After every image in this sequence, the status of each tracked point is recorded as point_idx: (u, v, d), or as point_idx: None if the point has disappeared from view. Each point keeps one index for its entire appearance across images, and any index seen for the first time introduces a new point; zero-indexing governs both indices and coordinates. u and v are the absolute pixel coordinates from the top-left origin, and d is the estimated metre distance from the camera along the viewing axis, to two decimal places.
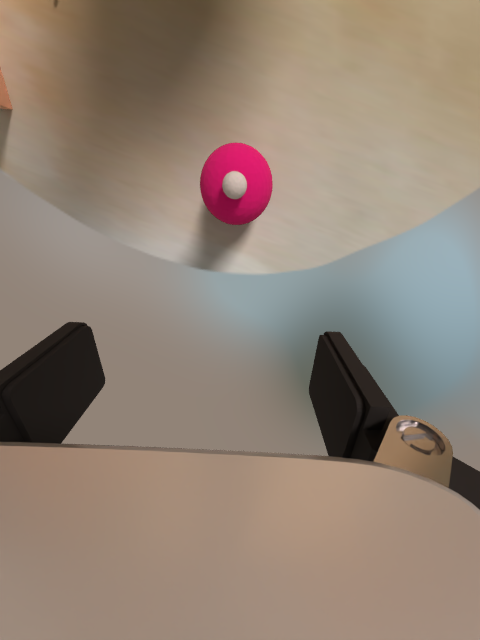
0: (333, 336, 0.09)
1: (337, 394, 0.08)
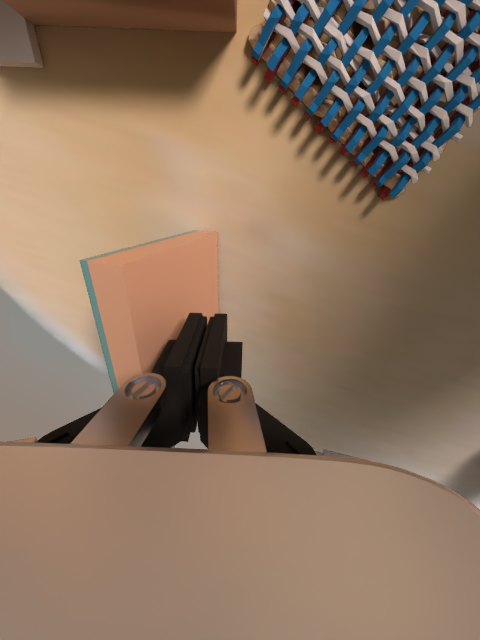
0: (217, 317, 0.10)
1: None
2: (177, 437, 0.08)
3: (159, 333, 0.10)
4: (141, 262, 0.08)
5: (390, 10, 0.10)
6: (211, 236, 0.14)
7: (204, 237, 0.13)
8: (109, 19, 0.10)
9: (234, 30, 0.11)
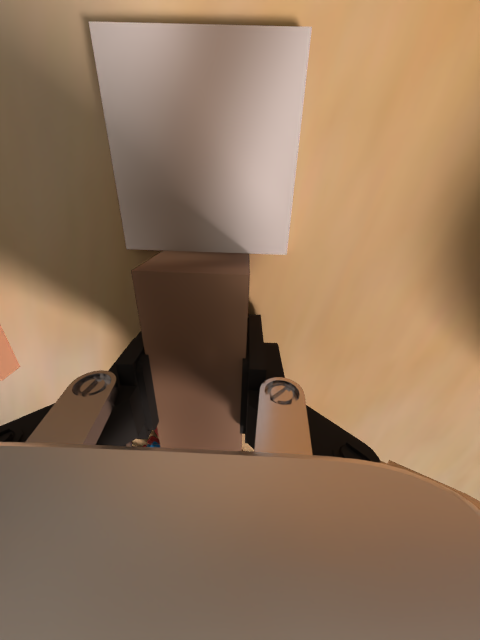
0: (251, 318, 0.10)
1: None
2: (131, 434, 0.08)
3: None
4: None
5: None
6: None
7: None
8: None
9: None
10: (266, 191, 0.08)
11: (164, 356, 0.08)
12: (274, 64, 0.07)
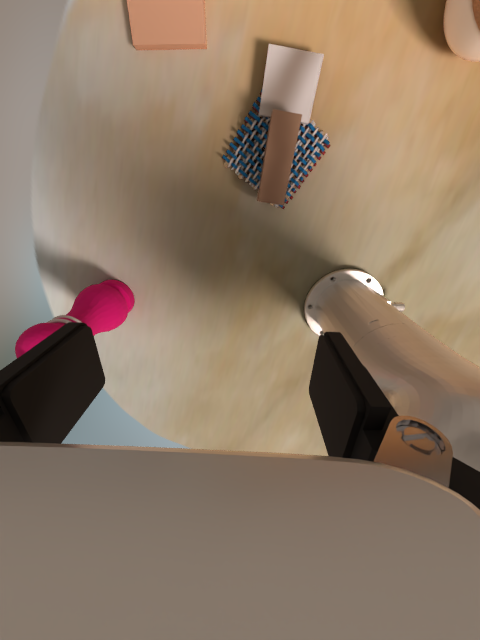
0: (333, 336, 0.09)
1: (337, 394, 0.08)
2: None
3: None
4: None
5: None
6: (204, 30, 0.27)
7: (204, 19, 0.26)
8: (264, 153, 0.31)
9: (257, 199, 0.34)
10: (306, 99, 0.28)
11: (273, 141, 0.28)
12: (313, 62, 0.27)
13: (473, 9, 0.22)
